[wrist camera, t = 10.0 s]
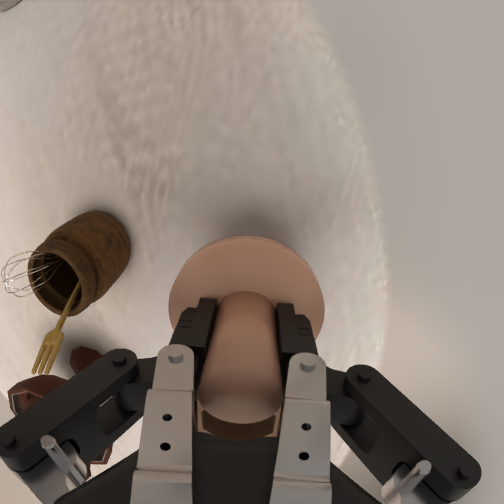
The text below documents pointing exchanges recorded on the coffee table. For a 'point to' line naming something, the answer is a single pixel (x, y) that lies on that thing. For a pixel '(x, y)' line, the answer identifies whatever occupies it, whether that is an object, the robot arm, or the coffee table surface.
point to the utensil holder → (74, 271)
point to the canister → (237, 426)
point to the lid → (245, 320)
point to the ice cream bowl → (44, 384)
